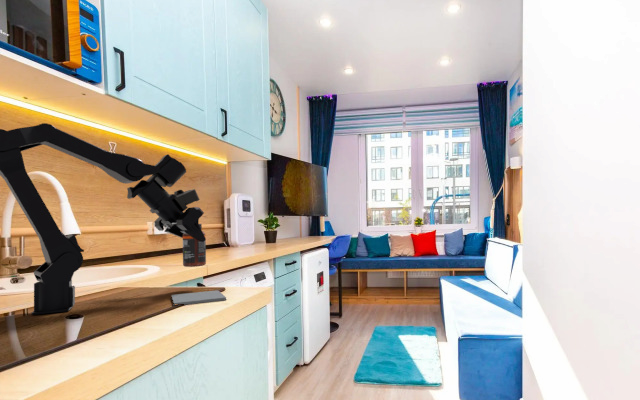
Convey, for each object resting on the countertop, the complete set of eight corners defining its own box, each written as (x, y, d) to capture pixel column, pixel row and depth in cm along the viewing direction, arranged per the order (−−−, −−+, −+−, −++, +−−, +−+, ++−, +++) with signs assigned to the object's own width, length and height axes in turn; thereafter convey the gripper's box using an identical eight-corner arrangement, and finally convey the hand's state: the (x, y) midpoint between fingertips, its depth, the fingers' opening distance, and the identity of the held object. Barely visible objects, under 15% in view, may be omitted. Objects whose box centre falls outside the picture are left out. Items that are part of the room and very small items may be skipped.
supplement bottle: (208, 264, 108) (208, 223, 109) (202, 267, 103) (202, 223, 103) (186, 264, 108) (186, 223, 109) (179, 267, 102) (179, 224, 103)
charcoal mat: (174, 305, 84) (174, 303, 84) (171, 297, 94) (171, 295, 94) (226, 300, 88) (226, 297, 88) (218, 292, 98) (218, 290, 98)
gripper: (195, 174, 97) (235, 218, 104) (165, 181, 111) (202, 220, 118) (164, 205, 91) (208, 250, 98) (136, 209, 105) (176, 248, 112)
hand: (199, 240), depth 107 cm, fingers closed on supplement bottle, 6 cm apart
